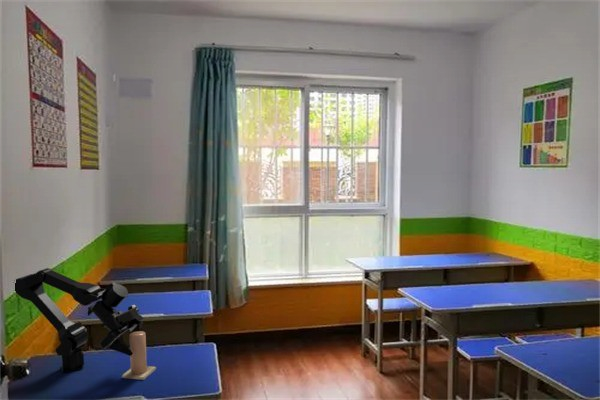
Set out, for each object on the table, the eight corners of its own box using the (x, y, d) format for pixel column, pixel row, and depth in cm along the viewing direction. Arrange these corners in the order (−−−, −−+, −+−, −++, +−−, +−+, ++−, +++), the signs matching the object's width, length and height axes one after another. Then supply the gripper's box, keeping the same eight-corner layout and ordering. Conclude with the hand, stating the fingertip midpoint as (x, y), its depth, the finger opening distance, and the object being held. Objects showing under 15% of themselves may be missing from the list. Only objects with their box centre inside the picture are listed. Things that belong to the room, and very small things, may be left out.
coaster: (122, 377, 159) (121, 375, 159) (135, 367, 167) (134, 364, 167) (143, 379, 158) (143, 377, 158) (155, 369, 166) (155, 366, 166)
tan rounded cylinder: (132, 375, 159) (130, 338, 158) (129, 369, 164) (128, 333, 162) (148, 372, 161) (146, 335, 160) (145, 366, 166) (143, 330, 165)
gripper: (106, 309, 152) (139, 345, 151) (137, 292, 170) (167, 324, 169) (85, 331, 154) (117, 367, 153) (118, 312, 172) (147, 343, 171)
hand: (139, 349), depth 162 cm, fingers open, 9 cm apart
